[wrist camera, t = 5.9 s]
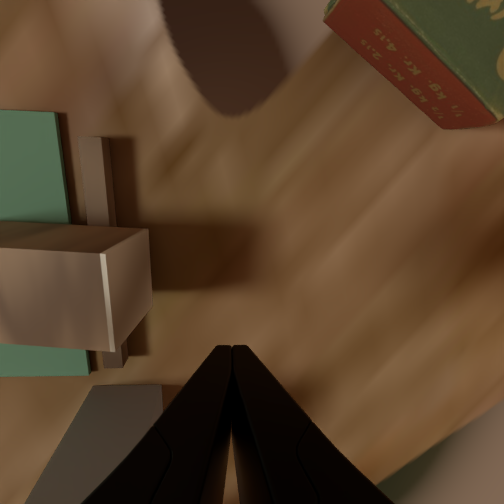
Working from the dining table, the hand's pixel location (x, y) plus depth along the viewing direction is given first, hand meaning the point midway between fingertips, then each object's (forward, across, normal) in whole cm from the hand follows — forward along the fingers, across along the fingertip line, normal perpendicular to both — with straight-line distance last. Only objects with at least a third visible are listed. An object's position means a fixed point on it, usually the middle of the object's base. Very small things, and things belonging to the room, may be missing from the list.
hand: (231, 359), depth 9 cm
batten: (+9, +6, 0) cm, 11 cm away
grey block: (+9, +6, +10) cm, 15 cm away
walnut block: (+6, +4, 0) cm, 7 cm away
